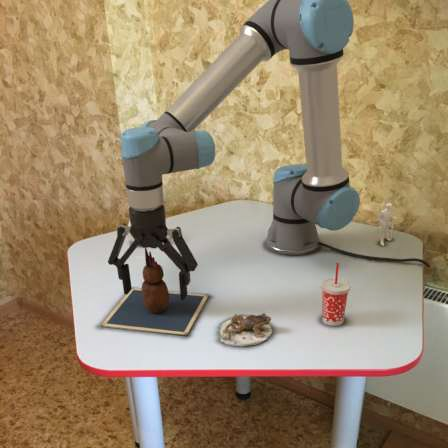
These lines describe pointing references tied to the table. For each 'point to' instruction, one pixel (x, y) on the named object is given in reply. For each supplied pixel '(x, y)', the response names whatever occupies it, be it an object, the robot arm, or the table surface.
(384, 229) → the action figure
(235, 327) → the frog figurine
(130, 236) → the die
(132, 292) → the framed chalkboard
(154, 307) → the wooden figurine
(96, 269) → the table surface
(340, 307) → the beverage cup
